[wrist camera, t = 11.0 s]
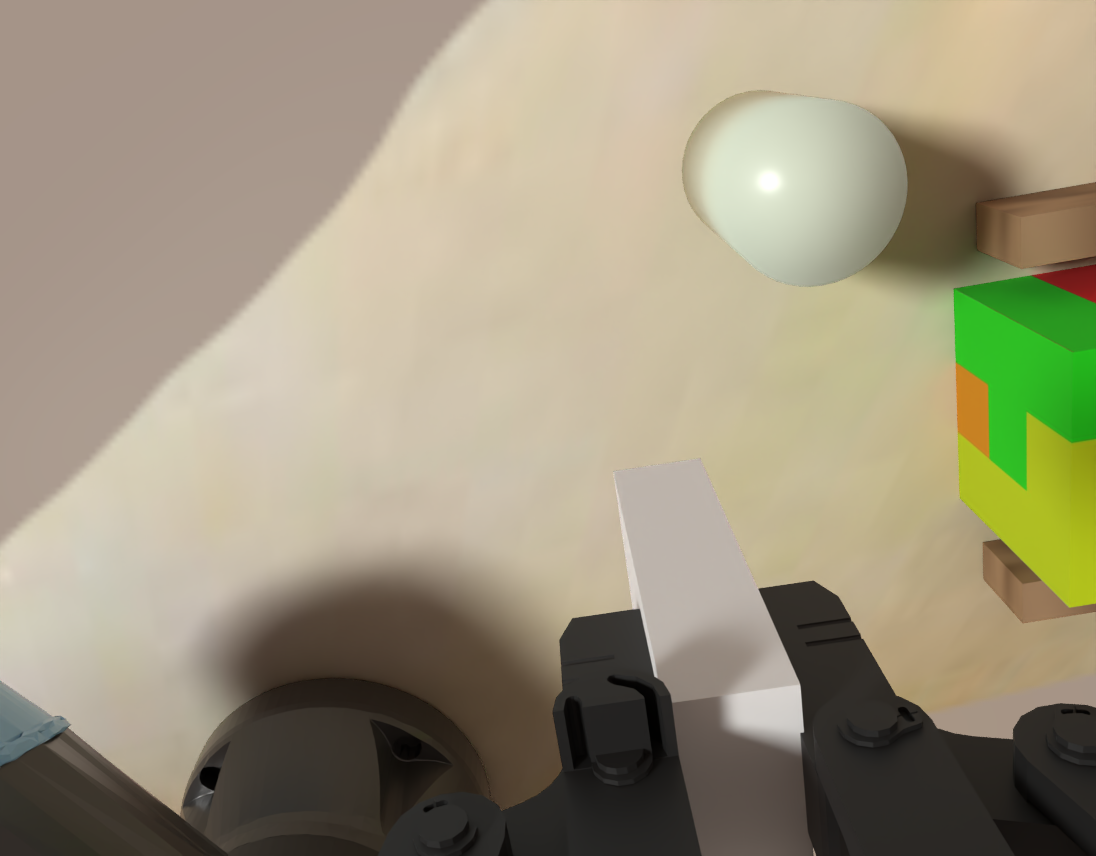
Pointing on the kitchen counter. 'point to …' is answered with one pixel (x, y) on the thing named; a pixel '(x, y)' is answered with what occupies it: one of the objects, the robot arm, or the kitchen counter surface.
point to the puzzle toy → (1032, 420)
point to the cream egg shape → (796, 184)
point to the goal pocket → (1023, 241)
